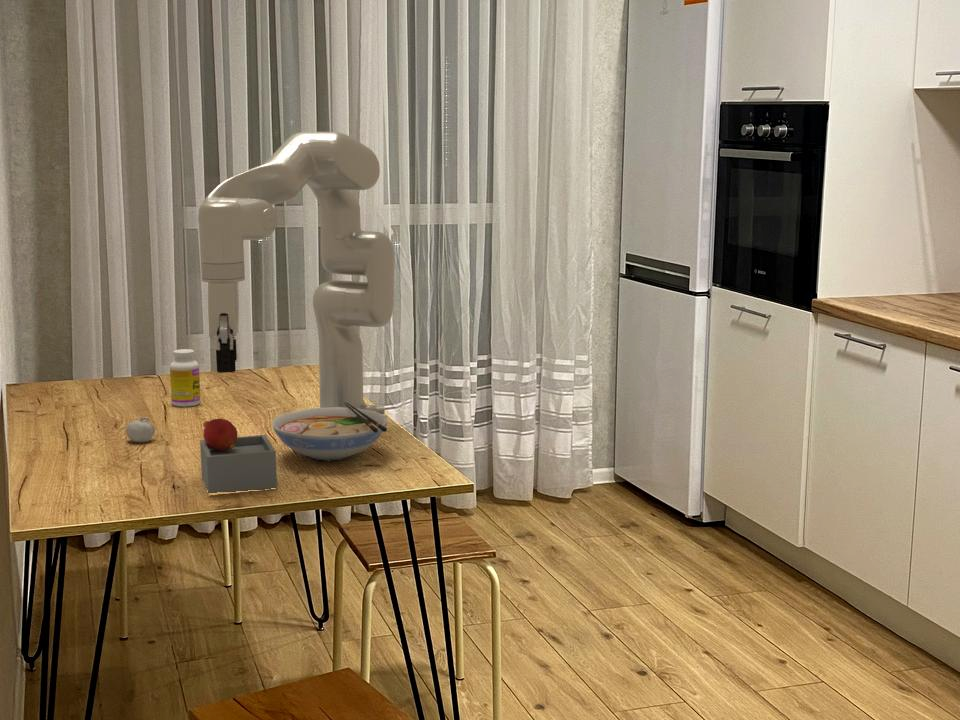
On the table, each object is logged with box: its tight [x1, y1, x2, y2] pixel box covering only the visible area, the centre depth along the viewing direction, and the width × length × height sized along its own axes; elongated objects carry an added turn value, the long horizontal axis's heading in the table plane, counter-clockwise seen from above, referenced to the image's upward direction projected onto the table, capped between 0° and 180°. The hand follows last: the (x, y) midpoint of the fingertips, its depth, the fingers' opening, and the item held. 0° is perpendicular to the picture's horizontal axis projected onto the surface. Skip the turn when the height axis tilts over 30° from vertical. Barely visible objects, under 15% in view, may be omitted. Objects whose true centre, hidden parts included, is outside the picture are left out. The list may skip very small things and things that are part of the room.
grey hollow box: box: [199, 434, 278, 494], centre depth 205 cm, size 12×12×8 cm
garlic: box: [126, 416, 156, 444], centre depth 233 cm, size 6×5×5 cm
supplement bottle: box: [169, 348, 201, 408], centre depth 264 cm, size 7×7×13 cm
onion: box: [202, 418, 238, 451], centre depth 205 cm, size 6×6×8 cm
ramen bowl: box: [271, 403, 388, 462], centre depth 222 cm, size 25×23×8 cm
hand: (227, 366), depth 203 cm, fingers open, 9 cm apart
